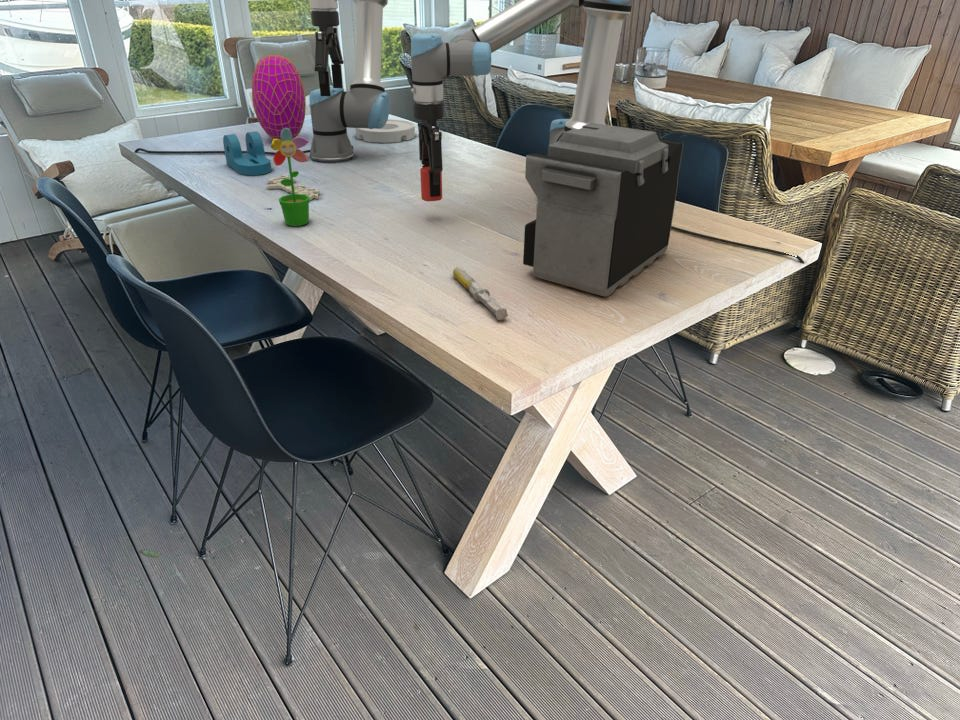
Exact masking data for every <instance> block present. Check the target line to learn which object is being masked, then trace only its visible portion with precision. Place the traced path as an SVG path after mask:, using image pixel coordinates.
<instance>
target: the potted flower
mask: <svg viewBox="0 0 960 720" xmlns="http://www.w3.org/2000/svg"><path fill="white" fill-rule="evenodd" d="M280 136H281V140H282V141H281V140H279V139H273V138H272V141H271V145H270V148H271V149H272V150H274V151H275V152H276V153H275V155H273V163H274V165H275V167H277V166H282V164H283V163H285V161H286V158H287V164H288V165H287V166H288V171H289V179H283V180H282V181H281V184H282V185H284V186H291V188H292V194H291V193H289V194H286V195H282V196H280V197H279V198H278V202H279V205H280V207H281V210H282V215H283V219H284V223H285V225H287V226H290V227H291V226H292V227H301V226H304V225H306V224H309V222H310V206H309V205H310V200H309V196H307V195H304V194H295V191H294V184H295V182H293V178H296V177H297V176H299V174H300V173H299V171H297V170H295V171H293V168H292V162H291V161H292V160H291V159H293V160H294V161H296V162H297V163H307V162H309V158H308V156H307V155H306V153H304V152H302V151H303V150H301V148H303V147H305V146H306V145H308V144H309V143H310V140H308V139H307V138H306V137H303V136H299V135H298V136H296V137H295V138H293V139H292V134H291V131H290V130H289V129H288V128H284V129H283V130H282V131H281V134H280Z"/></svg>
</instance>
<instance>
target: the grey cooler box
mask: <svg viewBox="0 0 960 720" xmlns="http://www.w3.org/2000/svg"><path fill="white" fill-rule="evenodd" d="M684 145H685V144H684V141H680V140H679V141H678V140H673V139H667V138H660V137H659V136H658V134H657V132H656V131H651V130H643V129H637V128H632V127H623V126H616V125H610V124H606V125H604V124H597V123H589V124H586V125H584V126H582V128H580V129H572V130H569V131H566V132H564V133H563V135H562V137H561V138H560V140H559V141H558V142H555V143H553V144H551V145H549V144H548V148H547V155H545V154H540V153H534V152H532V153H529V154H526V156H525V171H524V172H525V175H524V177H525V180H526V182H527V183H528V185H529V186H530V188H531V190H532V192H533V194H534V195H535V196H536V198H537V203H536V213H535V219H534V220H532V221H529V222H528V223H526V224H525V225H524V237H523V256H522V257H523V259H522V264H523V265H524V266H528V267H532V275H533V276H534V277H535V278H538V279H541V280H545V281H548V282H552V283H556V284H559V285H562V286H566V287H570V288H573V289H576V290H580V291H583V292H587V293H590V294H594V295H597V296H601V297H609V296H611V295H612V294H613V293H614V292H615V290H616V288H619V287H623V286H624V285H625V284H627V282H628V281H629V279H630V278H631V277H636V276H638V275H639V274H640V273H641V272H642V270H643V269H644V267H650V265H652V264H653V263H654V261H655V260H656V259H657V258H661V257H663V256H664V255H665V253H666V252H667V251H668V248H669V243H670V238H671V231H672V229H671V226H673V225H672V224H673V218H674V212H675V205H676V199H677V198H676V197H677V193H678V186H679V176H680V175H679V174H680V169H681V163H682V158H683V157H682V156H683V150H684Z"/></svg>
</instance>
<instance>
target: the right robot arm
mask: <svg viewBox="0 0 960 720" xmlns="http://www.w3.org/2000/svg"><path fill="white" fill-rule="evenodd" d="M633 2H634V0H518V1H517V2H515V3H513V4H511V5H509V6H508V7H506V8H504V9H503V10H501V11H499V12H498V13H496V14H495V15H493V16H491V17H489V18H488V19H486V20H484V21H483V22H481V23H479V24H477V25H476V26H474V27H473V28H471V29H469V30H468V31H466V32H464V33H462V34H459V35H458V34H457V35H456V36H454V37H452V38H451V39H450V41H448V42H443V39H442V35H441V34H439V33H429V32H425V33H424V32H423V33H416V34H414V35H412V36H411V38H410V63H411V78H412V88H411V89H410V92H411V93H412V96H413V101H414V103H413V117H414V119H416V120H418V121H420V122H417V130H418V153H419V157H418V159H419V161H420V162H421V168H423V167H428V166H430V170H428V173H429V184H430V197H436V196H441V193H440V171H442V172H443V169H444V168H443V150H442V149H443V148H442V140H443V139H442V138H443V133H442V131H440V127H439V125H438V122H437V121H439V120H442V119H443V118H444V116H445V113H444V103H443V102H442V101H443V100H444V80H443V77H465V76H466V77H472V76H473V77H480V76H487V75H489V74H490V72H491V71H492V53H494V52H496V51H498V50H500V49H501V48H503V47H505V46H506V45H508V44H510V43H512V42H513V41H515V40H517V39H519V38H520V37H522V36H524V35H526V34H527V33H529V32H531V31H532V30H534V29H535V28H538V27H540V26H541V25H542V24H544V23H546V22H548V21H549V20H552V19H553V18H555V17H557V16H558V15H560V14H561V13H563V12H565V11H567V10H569V9H570V8H575V9H578V8H580V7H582V9H583V10H584V12H585V13H586V16H587V19H586V26H585V32H584V38H583V44H582V51H581V59H580V63H579V70H578V76H577V83H576V88H575V95H574V101H573V108H572V114H571V118H558V119H554V120H552V121H551V123H550V127H549V128H550V129H549V131H548V132H549V141H548V142H549V144H548V146H549V145H551V144H553V143H555V142H558V141H559V140H560V138H561V137H562V135H563V133H564V132H566V131H569V130H572V129H580V128H582V126H584V125H586V124H589V123H597V124H604V125H607V123H606V115H607V110H608V104H609V99H610V93H611V88H612V83H613V78H614V72H615V66H616V60H617V55H618V50H619V44H620V39H621V34H622V33H621V32H622V27H623V23H624V22H623V21H624V20H625V19H626V18H627V17H628V16H629V15H631V14H632V13H631V12H632V9H633V4H634V3H633ZM671 230H674V231H677V232H681V233H684V234H688V235H692V236H695V237H700V238H703V239H707V240H712V241H716V242H721V243H725V244H729V245H734V246H738V247H743V248H746V249H752V250H757V251H762V252H767V253H772V254H775V255H780V256H787V257H793V258H795V259H797V261H798V262H799V263H800V264H805V261H804V260H803V258H802V257H801V256H800V255H798V254H796V255H797V257H795V256H792V255H789V254H786V253H787V252H786V253H784V251H780V250H776V249H771V248H767V247H766V248H765V247H761V246H756V245H751V244H746V243H743V242H737V241H732V240H728V239H723V238H719V237H715V236H711V235H707V234H702V233H697V232H695V231H692V230H688V229H683V228H680V227H676V226H673V225H671Z"/></svg>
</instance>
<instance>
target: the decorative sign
mask: <svg viewBox="0 0 960 720" xmlns="http://www.w3.org/2000/svg"><path fill="white" fill-rule="evenodd" d="M283 179H290V175H286V174H280V176H279V177H272V178H269V179H268V183H269V184H267V189H268V190H276V189H280V190H283V191H285V192H286V193H290V194H292V188H291V186H284V185H282V184H281V181H282V180H283ZM293 183H294V191H295V194H304V195H307V196H309V201H312V200H314V199H315V200H318V199H319V195H320V194H321V192H320V190H319V189H317V190H316V188H315V187H309V188H307V187H306V186H305V184H300V183H296V177H294V178H293ZM295 183H296V184H295Z"/></svg>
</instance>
